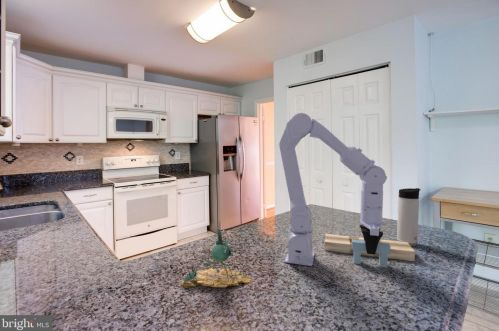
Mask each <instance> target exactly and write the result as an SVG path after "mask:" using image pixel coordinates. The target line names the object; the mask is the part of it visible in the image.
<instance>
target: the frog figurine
mask: <svg viewBox="0 0 499 331" xmlns="http://www.w3.org/2000/svg"><path fill="white" fill-rule="evenodd" d="M216 232H217V239H218V240H216V241H215V243H214V244H213V245H212V248H211V252H210V253H211V257H207V259H206V258H203V259H201V260H200V263H201V262H203V261H204V260H205V261H206V265H205V269H203V270H197V269H195V268H194V265H192V266H191V270H188V273H187V274H186V276H185V277H184V279H183V280H182V281H181V283H180V286H182V287H184V288H187V287H188V288H189V287H196V286H204V287H212V288H227V287H229V286H230V287H233V286H234V287H235V286H239V284H241V283H242V284H243V283H244V284H250V283H252V279H251V277H248V276H245V275H243V274H242V272H240V271H236V270H233V269H231V266H229V265H228V264H226V263H224V262H225V261H227V260H228V259H229V257H230V256H231V257H232V256H233V252H235V253H238V250H237V249H234V250H232V248H231V247H230V246H229V243H228V240H227V239H226V237H227V236H225V237H224V240H223V235H222V231H221V228H217V229H216ZM209 259H213V261H212V262H211V261H210V260H209ZM215 262H216V263H215ZM218 263H220V264H222V266H224V268H222V269H218V268H217V266H216V265H218ZM209 265H213V266H214V268H212V267H210V268H209V267H208V266H209ZM226 266H227V267H228V268H227V267H226Z"/></svg>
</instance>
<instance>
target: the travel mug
mask: <svg viewBox="0 0 499 331" xmlns="http://www.w3.org/2000/svg"><path fill="white" fill-rule="evenodd" d="M420 191H421V188H418V187H415V188H411V187H409V188H400V189H398V198H397V199H398V201H397V222H396V225H397V226H396V241H400V242H408V244H409V245H410V246H411V247H416V246H418V238H419V236H418V235H419V233H418V232H419V216H420V215H419V211H420Z"/></svg>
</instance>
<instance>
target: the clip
mask: <svg viewBox="0 0 499 331" xmlns="http://www.w3.org/2000/svg"><path fill="white" fill-rule="evenodd" d="M352 250H354V254H353V264H355V265H357V264H358V265H361V264H362V261H361V260H362V256H361V251H366V246H365V241H364V240H354V239H352ZM366 252H367V251H366ZM376 253H379V257H378V265H379V267H380V268H386V269H387V268H388V259H389V258H388V254H390V244H389V243H383V242H379V243H378V246H377V250H376Z"/></svg>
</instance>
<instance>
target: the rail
mask: <svg viewBox="0 0 499 331" xmlns="http://www.w3.org/2000/svg"><path fill="white" fill-rule="evenodd" d="M352 239H354V240H364V237H360V236H359V237H357V236H349V235H339V234H330V233H325V236H324V251H328V252H336V253H342V254H353V255H354V250H352ZM379 242H383V243H389V244H390V254H388V259H392V260H402V261H410V262H415V259H416V258H415V257H416V251H415V250H414V249H413V246H410V245H409V244H408V242H400V241H397V240H390V239H389V240H388V239H380V241H379ZM361 255H362V256H367V257H374V258H375V257H377V258H379V253H375V255H373V254H367V252H366V251H361Z"/></svg>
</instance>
